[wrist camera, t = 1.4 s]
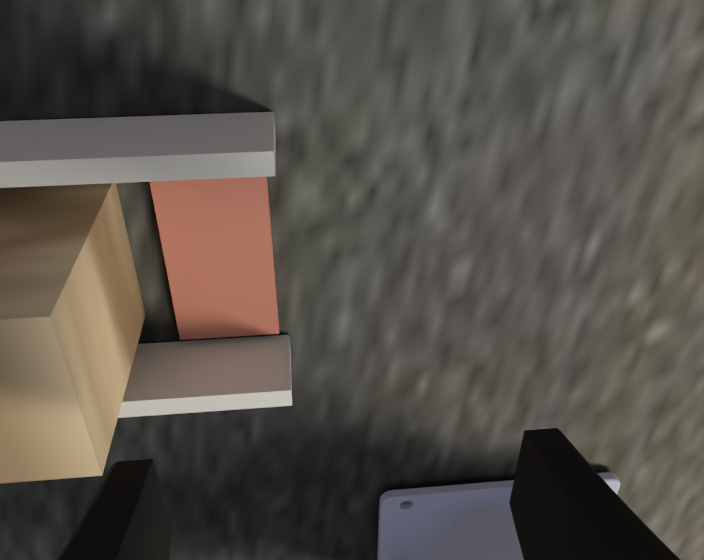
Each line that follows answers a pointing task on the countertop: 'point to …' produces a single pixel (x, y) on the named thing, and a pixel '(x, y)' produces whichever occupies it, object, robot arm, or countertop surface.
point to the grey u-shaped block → (184, 245)
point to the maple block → (63, 328)
